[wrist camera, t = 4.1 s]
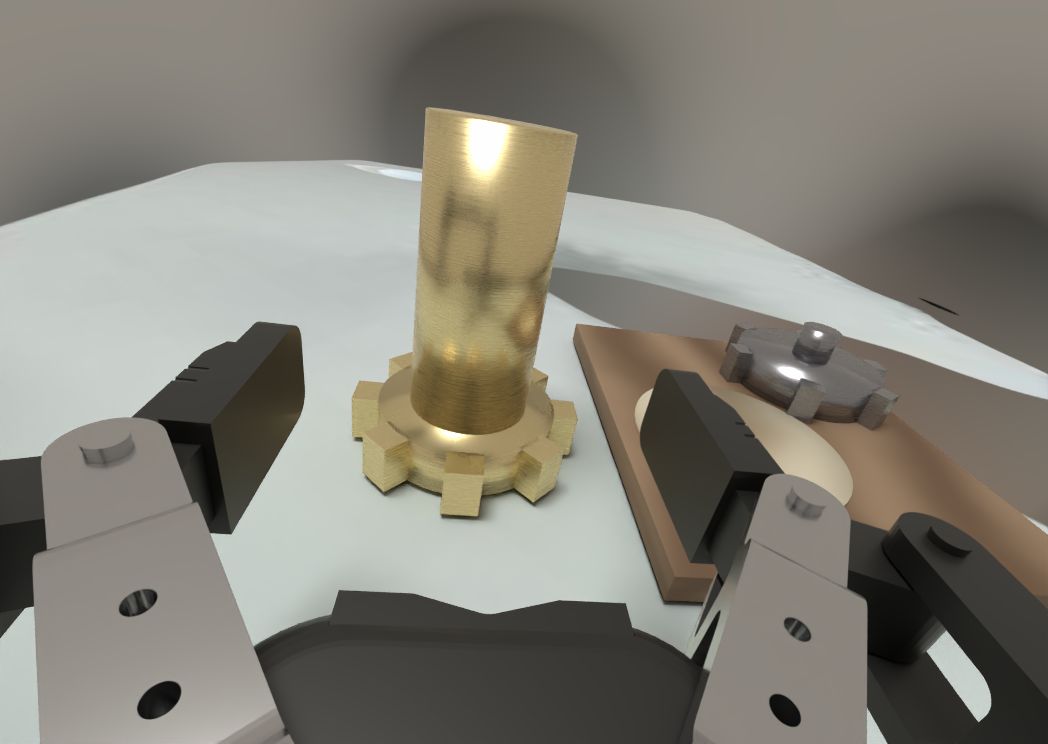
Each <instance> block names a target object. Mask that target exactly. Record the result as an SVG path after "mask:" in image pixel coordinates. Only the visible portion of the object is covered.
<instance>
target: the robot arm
mask: <svg viewBox="0 0 1048 744" xmlns="http://www.w3.org/2000/svg"><path fill="white" fill-rule="evenodd" d="M304 398H305V384H304V370H303V355H302V341H301V333H300V330H299V328H298V327H297V326H294V325H285V324H276V323H267V322H256V323H255V324H254V325H253V326H252V327H251V328H250V329H249V330H248V331H247V332H246V333H245V334H244V335H243V336H242V337H241V338H240V339H239V340H238V341H237V342H228V341H227V342H225V343H223V344H221V345H218V346H216V347H214V348H212V349H209V350H207V351H205V352H203V353H202V354H201V355H200V356H199V357H198V358H197V359H195V360H194V361H193V362H192V363H191V364H190V365H189V366H188V369H184V370H183V371H182V372H181V373H180V374H179V375H178V376H177V377H176V379H175V381H171V382H170V383H169V384H168V385H167V386H166V387H165V388H163V389H162V390H161V391H160V392H159V393H158V394H157V395H156V396H155V397H154V398H152V399H151V400H150V401H149V402H148V403H147V404H146V405H145V406H144V407H142V408H141V409H140V410H139V411H138V412H137V413H136V414H135V415H134V416H133V417H131V418H115V419H108V420H102V421H98V422H94V423H91V424H88V425H85V426H82V427H79V428H77V429H74V430H72V431H70V432H68V433H66V434H64V435H63V436H61V437H59V438H58V439H56V440H55V441H54V442H53V443H51V444H50V445H49V446H48V447H47V449H46V450H45V451H44V453H43V455H42V456H38V457H29V458H20V459H10V460H1V461H0V638H1V637H2V635H3V634H4V633H5V632H6V631H7V629H8V628H9V627H10V626H11V625H12V623H13V622H14V621H15V620H16V618H17V617H18V616H19V615H20V614H21V612H22V611H23V610H24V609H25V608H28V607H33V606H34V614H35V637H36V660H37V683H38V706H39V729H40V744H867V708H868V710H869V712H870V713H871V715H872V717H873V719H874V720H875V722H876V724H877V726H878V727H879V729H880V731H881V733H882V734H883V736H884V738H885V740H886V742H887V743H888V744H1048V609H1047V608H1046V607H1045V606H1044V605H1043V604H1042V603H1041V602H1040V601H1039V600H1038V599H1037V598H1036V597H1035V596H1034V595H1033V594H1032V593H1031V592H1030V591H1029V590H1028V589H1027V588H1026V587H1025V586H1024V585H1023V584H1022V583H1021V582H1020V581H1018V580H1017V579H1016V578H1015V577H1014V576H1013V575H1012V574H1011V573H1010V572H1009V571H1008V570H1007V569H1006V568H1005V567H1004V566H1003V565H1002V564H1001V563H1000V562H999V561H998V560H997V559H996V558H995V557H994V556H993V555H992V554H991V553H990V552H989V551H988V550H987V549H985V548H984V547H983V546H982V545H981V544H980V543H979V542H978V541H976V540H975V539H974V538H972V537H971V536H970V535H968V534H967V533H965V532H964V531H962V530H960V529H959V528H957V527H955V526H953V525H952V524H950V523H948V522H946V521H943V520H941V519H939V518H936V517H933V516H931V515H927V514H923V513H918V512H906V513H903V514H901V515H900V516H899V518H898V519H897V520H896V522H895V523H894V524H893V526H892V527H891V529H890V530H889V531H887V530H884V529H880V528H877V527H874V526H870V525H867V524H864V523H861V522H857V521H854V520H851V519H850V516H849V513H848V511H847V510H846V508H845V507H844V506H843V504H842V503H841V502H840V501H839V500H838V499H837V498H836V497H835V496H833V495H832V494H831V493H830V492H828V491H827V490H825V489H824V488H822V487H820V486H819V485H817V484H815V483H813V482H811V481H809V480H806V479H804V478H801V477H798V476H794V475H789V474H785V473H784V472H783V470H782V469H781V468H780V467H779V465H778V464H777V463H776V461H775V460H774V459H773V458H772V456H771V455H770V454H769V452H768V451H767V450H766V449H765V447H764V446H763V445H762V443H761V442H760V441H759V440H758V438H755V434H754V433H753V432H752V431H751V429H750V428H749V427H748V426H745V424H746V423H745V422H744V420H743V419H742V418H741V416H740V415H739V414H738V413H737V411H736V410H735V409H734V408H733V407H732V406H730V405H729V404H728V403H726V402H725V401H723V400H722V399H721V398H719V397H718V396H717V395H714V394H713V393H712V391H711V390H710V389H709V387H708V386H707V385H706V383H705V382H704V381H703V379H702V378H701V377H700V375H699V374H698V373H696V372H690V371H681V370H673V369H663V370H662V371H661V372H660V373H659V375H658V377H657V379H656V382H655V385H654V388H653V391H652V394H651V397H650V400H649V403H648V406H647V409H646V412H645V415H644V418H643V421H642V424H641V429H640V446H641V449H642V452H643V454H644V457H645V459H646V461H647V464H648V466H649V468H650V471H651V473H652V475H653V478H654V480H655V482H656V485H657V487H658V489H659V492H660V494H661V496H662V499H663V501H664V503H665V506H666V508H667V510H668V513H669V515H670V517H671V520H672V522H673V524H674V527H675V529H676V531H677V534H678V536H679V538H680V541H681V543H682V545H683V548H684V550H685V552H686V555H687V557H688V559H689V562H690V563H698V564H714V565H715V567H716V569H717V573H716V575H715V577H714V579H713V581H712V583H711V585H710V588H709V590H708V593H707V596H706V598H705V601H704V604H703V606H702V609H701V612H700V614H699V617H698V620H697V622H696V625H695V627H694V630H693V633H692V635H691V638H690V641H689V643H688V646H687V649H686V651H685V654H683V653H682V652H680V651H679V650H677V649H676V648H674V647H673V646H671V645H670V644H668V643H666V642H664V641H662V640H660V639H658V638H657V637H655V636H652V635H650V634H648V633H645V632H643V631H640V630H638V629H635V628H632V625H631V622H630V618H629V614H628V610H627V607H626V603H605V602H583V601H562V600H559V601H554V602H549V603H544V604H540V605H535V606H530V607H525V608H520V609H516V610H511V611H506V612H501V613H496V614H482V613H478V612H475V611H471V610H468V609H464V608H461V607H458V606H454V605H451V604H447V603H444V602H440V601H437V600H434V599H430V598H427V597H423V596H420V595H416V594H410V593H388V592H366V591H344V590H339V592H338V595H337V598H336V602H335V605H334V608H333V612H332V615H329V616H324V617H319V618H316V619H312V620H309V621H306V622H303V623H299V624H297V625H295V626H292V627H290V628H288V629H285V630H283V631H280V632H278V633H277V634H275V635H273V636H271V637H269V638H267V639H265V640H263V641H262V642H260V643H258V644H257V645H255V646H254V647H253V645H252V642H251V639H250V637H249V634H248V631H247V629H246V626H245V624H244V621H243V618H242V616H241V613H240V611H239V608H238V605H237V603H236V600H235V597H234V595H233V592H232V590H231V587H230V584H229V582H228V579H227V577H226V574H225V571H224V569H223V566H222V563H221V561H220V558H219V556H218V553H217V550H216V548H215V545H214V543H213V540H212V537H211V535H210V533H217V534H232V532H233V531H234V529H235V527H236V525H237V524H238V522H239V520H240V519H241V517H242V515H243V514H244V512H245V510H246V508H247V507H248V505H249V503H250V502H251V500H252V498H253V496H254V495H255V493H256V491H257V490H258V488H259V486H260V484H261V483H262V481H263V479H264V478H265V476H266V474H267V472H268V471H269V469H270V467H271V466H272V464H273V462H274V460H275V459H276V457H277V455H278V454H279V452H280V450H281V449H282V447H283V445H284V443H285V442H286V440H287V438H288V437H289V435H290V433H291V431H292V430H293V428H294V426H295V425H296V423H297V421H298V419H299V417H300V415H301V412H302V409H303V405H304ZM946 630H947V631H948V633H949V634H950V635H951V636H952V638H953V639H954V640H955V641H956V643H957V644H958V645H959V646H960V648H961V649H962V650H963V651H964V653H965V654H966V655H967V656H968V658H969V659H970V660H971V661H972V663H973V664H974V665H975V666H976V668H977V669H978V670H979V671H980V673H981V674H982V676H983V677H984V679H985V680H986V682H987V685H988V687H989V690H990V693H991V708H990V711H989V713H988V714H987V715H986V716H985V717H984V718H983V719H982V720H981V721H979V722H978V721H977V720H976V719H975V717H974V716H973V714H972V713H971V712H970V710H969V709H968V708H967V706H966V705H965V703H964V702H963V701H962V699H961V698H960V697H959V695H958V694H957V693H956V691H955V690H954V688H953V687H952V686H951V684H950V683H949V682H948V680H947V679H946V678H945V676H944V675H943V673H942V672H941V671H940V669H939V668H938V667H937V665H936V664H935V662H934V661H933V660H932V658H931V657H930V656H929V654H928V653H927V652H926V651H927V650H928V649H929V648H930V647H931V646H932V645H933V644H934V643H935V642H936V641H937V639H938V638H939V637H940V636H941V635H942V634H943V633H944V632H945V631H946Z"/></svg>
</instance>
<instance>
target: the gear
mask: <svg viewBox="0 0 1048 744" xmlns="http://www.w3.org/2000/svg"><path fill="white" fill-rule="evenodd" d="M841 336H842V334H841V333H840V332H839V331H837V330H836V329H834V328H831V327H829V326H826V325H823V324H819V323H814V322H806V323H805V324H804V326H803V328H802V330H798V329H797V330H796V332H791V331H786V330H781V329H774V328H756V327H754V326H752V325H750V324H748V323H741V324H736V325H735V327H734V330H733V332H732V335H731V337H730V340H729V342H728V344H727V347H726V349H725V352H727V353H726V355H725V358H724V360H723V363H722V365H721V368H720V370H719V373H720V374H721V375H722V377H723V378H724V379H725V380H726V381H727V382H731V383H740V384H742V385H743V386H744V387H745V388H746V389H748V390H749V391H751V392H752V393H754V394H755V395H757V396H758V397H760V398H762V399H764V400H766V401H767V402H769V403H772V404H774V405H776V406H778V407H780V408H783V409H785V413H786V414H787V415H790V416H793V417H794V418H796V419H797V420H799V421H801V422H803V423H805V424H808V425H809V424H810V422H811V420H812V419H816V420H820V421H825V422H832V423H855V422H856V423H858V424H860V425H862V426H863V427H865V428H867V429H869V430H871V431H873V430H875V429H876V428H878V427H880V426H881V425H882V424H883V422H884V421H885V419H886V417H887V416H888V414H889V413H890V411H891V409H892V408H893V406H894V405H895V403H896V401H897V400H898V398H899V397H900V396H899V395H897V394H895V393H893V392H890V391H888V390H886V389H884V387H885V380H884V378H883V377H884V375H885V374H886V372H887V369H886V368H884V367H883V366H881V365H880V364H878V363H877V362H875V361H874V360H866V359H861V358H859V357H857V356H855V355H854V354H852V353H850V352H848V351H846V350H844V349H842V348H839V347H837V344H838V342H839V340H840V338H841Z"/></svg>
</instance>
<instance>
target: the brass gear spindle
mask: <svg viewBox="0 0 1048 744" xmlns="http://www.w3.org/2000/svg"><path fill="white" fill-rule="evenodd" d="M577 136H578V135H577V134H575V133H571V132H568V131H564V130H559V129H555V128H550V127H546V126H541V125H536V124H531V123H525V122H520V121H514V120H509V119H504V118H498V117H492V116H486V115H481V114H474V113H468V112H461V111H455V110H447V109H439V108H426V119H425V137H424V154H423V173H422V191H421V210H420V228H419V246H418V265H417V283H416V302H415V320H414V338H413V352H411V353H408V354H405V355H402V356H398V357H395V358H392V359H389V379H388V380H387V381H386V382H385V383H378V382H368V381H359V383H358V385H357V387H356V390H355V392H354V394H353V396H352V437H362V438H363V473H364V474H365V475H366V476H367V477H368V478H369V479H370V480H371V481H372V482H373V483H374V484H376V485H377V486H378V487H379V488H380V489H381V490H382V491H383V492H385V491H387V490H389V489H391V488H393V487H395V486H396V485H398V484H400V483H402V482H404V481H406V480H408V481H410V482H411V483H413V484H416V485H418V486H420V487H422V488H425V489H428V490H431V491H435V492H439V493H442V500H441V510H440V514H450V515H466V516H478V512H479V505H480V499H481V496H482V495H490V494H496V493H500V492H503V491H507V490H510V489H512V488H515V489H516V490H517V491H519V492H520V493H521V494H523V495H524V496H525V497H527V498H528V499H529V500H531V501H532V502H533V503H534V502H535V501H536V500H538V499H539V498H541V497H542V496H543V495H545V494H546V493H547V492H549V491H550V490H551V489H553V488H554V487H555V485H556V481H557V477H558V473H559V469H560V465H561V461H562V457H563V455H569V451H570V447H571V443H572V439H573V436H574V432H575V428H576V424H577V420H578V419H577V415H576V412H575V408H574V404H573V402H569V401H559V400H550V398H549V397H548V395H547V394H546V393H545V390H546V385H547V380H548V376H547V375H546V374H544V373H542V372H540V371H538V370H537V369H535V368H533V365H534V360H535V355H536V350H537V345H538V339H539V334H540V329H541V324H542V319H543V313H544V308H545V303H546V298H547V293H548V287H549V282H550V276H551V272H552V267H553V261H554V256H555V251H556V246H557V241H558V235H559V230H560V225H561V220H562V215H563V209H564V204H565V199H566V194H567V189H568V183H569V178H570V173H571V168H572V162H573V157H574V152H575V146H576V142H577Z"/></svg>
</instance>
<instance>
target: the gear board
mask: <svg viewBox="0 0 1048 744" xmlns="http://www.w3.org/2000/svg"><path fill="white" fill-rule="evenodd" d="M573 341H574V344H575V347H576V350H577V353H578V356H579V359H580V361H581V364H582V367H583V370H584V373H585V376H586V379H587V381H588V384H589V387H590V390H591V393H592V396H593V399H594V401H595V404H596V407H597V410H598V413H599V416H600V419H601V421H602V424H603V427H604V430H605V433H606V436H607V439H608V441H609V444H610V447H611V450H612V453H613V456H614V459H615V461H616V464H617V467H618V470H619V473H620V476H621V479H622V481H623V484H624V487H625V490H626V493H627V496H628V499H629V501H630V504H631V507H632V510H633V513H634V516H635V519H636V522H637V524H638V527H639V530H640V533H641V536H642V539H643V542H644V544H645V547H646V550H647V553H648V556H649V559H650V562H651V564H652V567H653V570H654V573H655V576H656V579H657V582H658V584H659V587H660V590H661V593H662V596H663V599H664V600H668V601H690V602H704V601H705V598H706V596H707V593H708V590H709V588H710V585H711V583H712V581H713V579H714V577H715V575H716V573H717V569H716V567H715V565H714V564H698V563H690V562H689V559H688V557H687V555H686V552H685V550H684V548H683V545H682V543H681V541H680V538H679V536H678V534H677V531H676V529H675V527H674V524H673V522H672V520H671V517H670V515H669V513H668V510H667V508H666V506H665V503H664V501H663V499H662V496H661V494H660V492H659V489H658V487H657V485H656V482H655V480H654V478H653V475H652V473H651V471H650V468H649V466H648V464H647V461H646V459H645V457H644V454H643V452H642V449H641V446H640V429H641V424H642V421H643V418H644V415H645V412H646V409H647V406H648V403H649V400H650V397H651V394H652V391H653V388H654V385H655V382H656V379H657V377H658V375H659V373H660V372H661V371H662V370H663V369H673V370H681V371H690V372H696V373H698V374H699V375H700V377H701V378H702V379H703V381H704V382H705V383H706V385H707V386H708V387H709V389H710V390H711V391H712V393H713V394H714V395H717V396H718V397H719V398H721V399H722V400H723V401H725V402H726V403H728V404H729V405H730V406H732V407H733V408H734V409H735V410H736V411H737V413H738V414H739V415H740V416H741V418H742V419H743V420H744V422H745V423H746V424H745V426H748V427H749V428H750V429H751V431H752V432H753V433H754V434H755V438H758V440H759V441H760V442H761V443H762V445H763V446H764V447H765V449H766V450H767V451H768V452H769V454H770V455H771V456H772V458H773V459H774V460H775V461H776V463H777V464H778V465H779V467H780V468H781V469H782V470H783V472H784V473H785V474H789V475H794V476H798V477H801V478H804V479H806V480H809V481H811V482H813V483H815V484H817V485H819V486H820V487H822V488H824V489H825V490H827V491H828V492H830V493H831V494H832V495H833V496H835V497H836V498H837V499H838V500H839V501H840V502H841V503H842V504H843V506H844V507H845V508H846V510H847V511H848V513H849V516H850V519H851V520H854V521H857V522H861V523H864V524H867V525H870V526H874V527H877V528H880V529H884V530H887V531H889V530H890V529H891V527H892V526H893V524H894V523H895V522H896V520H897V519H898V518H899V516H900V515H901V514H903V513H906V512H918V513H923V514H927V515H931V516H933V517H936V518H939V519H941V520H943V521H946V522H948V523H950V524H952V525H953V526H955V527H957V528H959V529H960V530H962V531H964V532H965V533H967V534H968V535H970V536H971V537H972V538H974V539H975V540H976V541H978V542H979V543H980V544H981V545H982V546H983V547H984V548H985V549H987V550H988V551H989V552H990V553H991V554H992V555H993V556H994V557H995V558H996V559H997V560H998V561H999V562H1000V563H1001V564H1002V565H1003V566H1004V567H1005V568H1006V569H1007V570H1008V571H1009V572H1010V573H1011V574H1012V575H1013V576H1014V577H1015V578H1016V579H1017V580H1018V581H1020V582H1021V583H1022V584H1023V585H1024V586H1025V587H1026V588H1027V589H1028V590H1029V591H1030V592H1031V593H1032V594H1033V595H1034V596H1035V597H1036V598H1037V599H1038V600H1039V601H1040V602H1041V603H1042V604H1043V605H1044V606H1045V607H1046V608H1047V609H1048V535H1047V534H1046V533H1045V532H1043V531H1042V530H1041V529H1040V528H1038V527H1037V526H1036V525H1035V524H1033V523H1032V522H1031V521H1029V520H1028V519H1027V518H1026V517H1024V516H1023V515H1022V514H1021V513H1019V512H1018V511H1017V510H1015V509H1014V508H1013V507H1012V506H1010V505H1009V504H1008V503H1007V502H1005V501H1004V500H1003V499H1001V498H1000V497H999V496H998V495H996V494H995V493H994V492H993V491H991V490H990V489H989V488H987V487H986V486H985V485H984V484H982V483H981V482H980V481H978V480H977V479H976V478H975V477H973V476H972V475H971V474H970V473H968V472H967V471H966V470H965V469H963V468H962V467H961V466H959V465H958V464H957V463H956V462H954V461H953V460H952V459H951V458H949V457H948V456H947V455H946V454H944V453H943V452H941V451H940V450H939V449H938V448H937V447H935V446H934V445H933V444H932V443H930V442H929V441H928V440H926V439H925V438H924V437H923V436H921V435H920V434H919V433H918V432H916V431H915V430H914V429H912V428H911V427H910V426H908V425H907V424H906V423H905V422H904V421H902V420H901V419H900V418H898V417H897V416H896V415H895V414H893V413H892V412H891V411H890V413H889V414H888V416H887V417H886V419H885V421H884V422H883V424H882V425H881V426H880V427H878V428H876V429H875V430H873V431H871V430H869V429H867V428H865V427H863V426H862V425H860V424H858V423H856V422H855V423H832V422H825V421H820V420H816V419H812V420H811V422H810V424H809V425H808V424H805V423H803V422H801V421H799V420H797V419H796V418H794V417H793V416H790V415H787V414H786V413H785V409H783V408H780V407H778V406H776V405H774V404H772V403H769V402H767V401H766V400H764V399H762V398H760V397H758V396H757V395H755V394H754V393H752V392H751V391H749V390H748V389H746V388H745V387H744V386H743V385H742V384H740V383H731V382H727V381H726V380H725V379H724V378H723V377H722V375H721V374H720V373H719V370H720V368H721V365H722V363H723V360H724V358H725V355H726V353H727V352H725V349H726V347H727V344H728V342H722V341H714V340H706V339H698V338H690V337H681V336H673V335H665V334H657V333H649V332H640V331H632V330H624V329H616V328H608V327H600V326H592V325H583V324H576V328H575V332H574V337H573Z"/></svg>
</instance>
